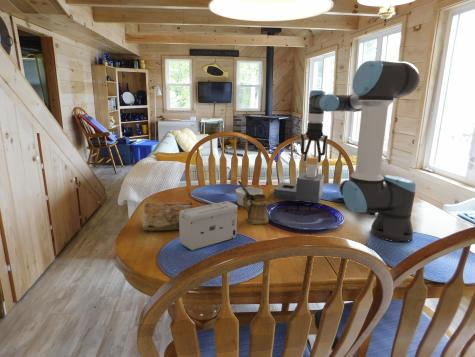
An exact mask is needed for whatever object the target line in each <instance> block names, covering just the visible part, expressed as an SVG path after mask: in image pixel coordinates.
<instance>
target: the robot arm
mask: <svg viewBox="0 0 475 357" xmlns="http://www.w3.org/2000/svg"><path fill="white" fill-rule="evenodd" d="M420 78H421V77H420V73H419V70H418V69H417V67H416V66H415V65H413V64H412V63H409V62H407V61H392V60H391V61H389V60H380V59H379V60H366V61H364V62H363V63H362V64H361V65H359V67H358V68H357V70H356V71H355V74H354V76H353V79H352V89H353V93H351V94H331V93H330V94H329V93H328V94H326V91H325V90H318V89H317V90H315V89H314V90H310V92H309V97H308V100H309V101H308V114H307V125H306V128H307V129H306V132H305V133H302V134H300V138H301V144H300V145H301V146H300V153H301V155H304V156H303V160H304V162H305V169H307V158H308V157H310V155H309V154H308V153H309V150H310V146H311V143H312V142H316V149H317V154H318V155H317V156H316V157H317V160H316V169H317V170H318V168H319V163H321V161H322V156H325V154H326V146H327V140H328V137H329V136H328V135H327V134H324V133H323V130H324V128H323V127H324V123H323V122H324V116H325V112H329V113H330V112H354V113H356V112H361V113H360V122H359V132H358V142H357V151H356V154H357V155H356V164H355V171H353V172H352V173H351V174H350V177H349V178H350V179H349V180H350V181H348V182H346V183H345V185H344V186H343V196H342V198H343V200H344V203H345V205H346V207H347V208H348V209H349V210H350V211H352V212H353V213H354V212H355V213H369V212H372V211H378V213H376V214H377V215H376V216H375V218H374V219H373V222H372V224H371V227H370V231H371V234H372V235H374V236H375V237H377V236H378V237H377V238H379V237H381V238H384V239H388V240H392V241H391V242H393V241H408V240H411V239H412V238H414V228H413V224H412V212H413V205H414V201H415V194H416V183H415V181H413V180H411V179H409V178H408V179H407V178H405V177H400V176H397V175H396V176H395V175H390V174H389V175H388V174H385V175H382V174H381V167H382V162H383V161H382V160H383V152H384V142H385V137H386V136H385V134H386V127H387V119H388V109H389V106H390V105H391V104H392V103H393V102H394V100H395V99H400V98H403V97H407V96H409V95H411V94H412V93H413V92H414V91H415V90H416V89H417V88H418V86H419V83H420ZM306 137H307V139H308V140H307V144H306V147H305V142H306V141H305V138H306ZM321 138H322V139H323V141H322V151H321V142H320V140H321ZM381 238H380V239H381ZM384 239H383V240H384ZM388 240H387V241H388ZM412 240H413V239H412ZM412 240H411V241H412ZM408 242H409V241H408Z"/></svg>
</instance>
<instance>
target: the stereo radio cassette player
mask: <svg viewBox="0 0 475 357" xmlns="http://www.w3.org/2000/svg"><path fill="white" fill-rule="evenodd" d="M191 197H194V198H197V199H199V200H201V201H204V202H207V203H209V204H206V205H200V206H197V207H192V208H191V209H186V210H181V211H180V212H179V229H178V230H179V242H180V244H182V245H183V246H184V247H186V248H187V249H188V250H190V251H195V250H198V249H201V248H204V247H208V246H212V245H215V244H218V243H221V242H225V241H228V240H232V238H233V239H235V238H236V235H237V225H238V224H237V219H238V218H237V214H238V213H237V212H238V204H235V203H233V202H231V201H229V200H225V201H221V202H213V201H209V200H207V199H203V198H200V197H198V196H196V195H193V194H191Z"/></svg>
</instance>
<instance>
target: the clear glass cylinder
mask: <svg viewBox="0 0 475 357" xmlns="http://www.w3.org/2000/svg"><path fill="white" fill-rule="evenodd" d="M316 160H317V156H316V157H315V156H309V157H308V158H307V168H306V171H305V173H306V177H309V178H315V177H316V174H317V170H318V169H316Z"/></svg>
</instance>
